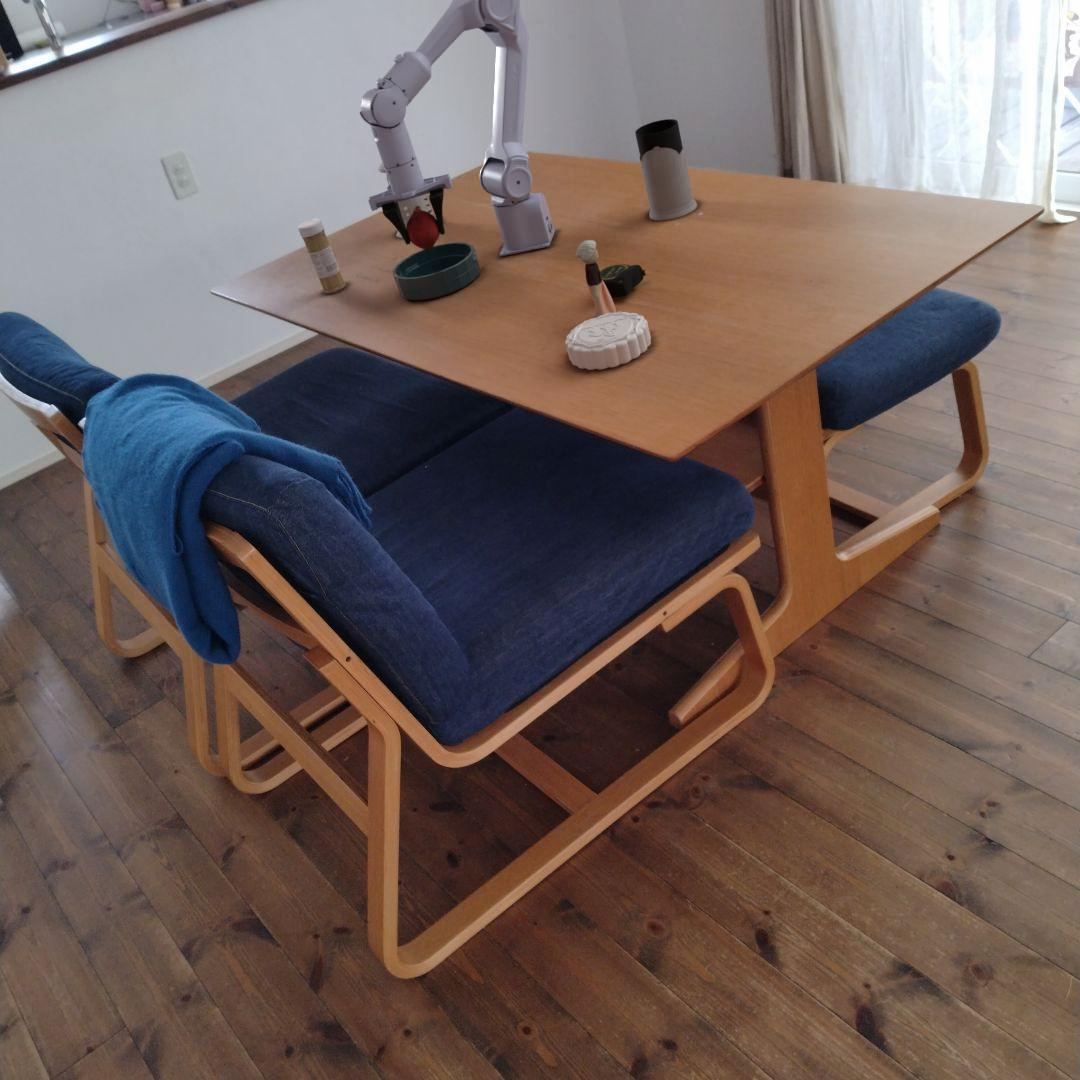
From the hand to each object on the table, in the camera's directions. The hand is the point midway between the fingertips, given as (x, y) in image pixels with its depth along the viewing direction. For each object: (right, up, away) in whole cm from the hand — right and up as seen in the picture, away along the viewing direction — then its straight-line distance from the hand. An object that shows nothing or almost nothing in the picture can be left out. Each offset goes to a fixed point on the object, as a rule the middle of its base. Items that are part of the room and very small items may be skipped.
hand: (425, 237), depth 194 cm
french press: (-6, +12, +37) cm, 39 cm away
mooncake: (+30, -26, -36) cm, 54 cm away
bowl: (+2, -7, +5) cm, 9 cm away
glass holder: (+45, +8, +6) cm, 46 cm away
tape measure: (+33, -14, -20) cm, 42 cm away
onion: (+1, -2, +1) cm, 2 cm away
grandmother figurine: (+30, -20, -27) cm, 45 cm away
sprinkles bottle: (-19, -5, +18) cm, 27 cm away
